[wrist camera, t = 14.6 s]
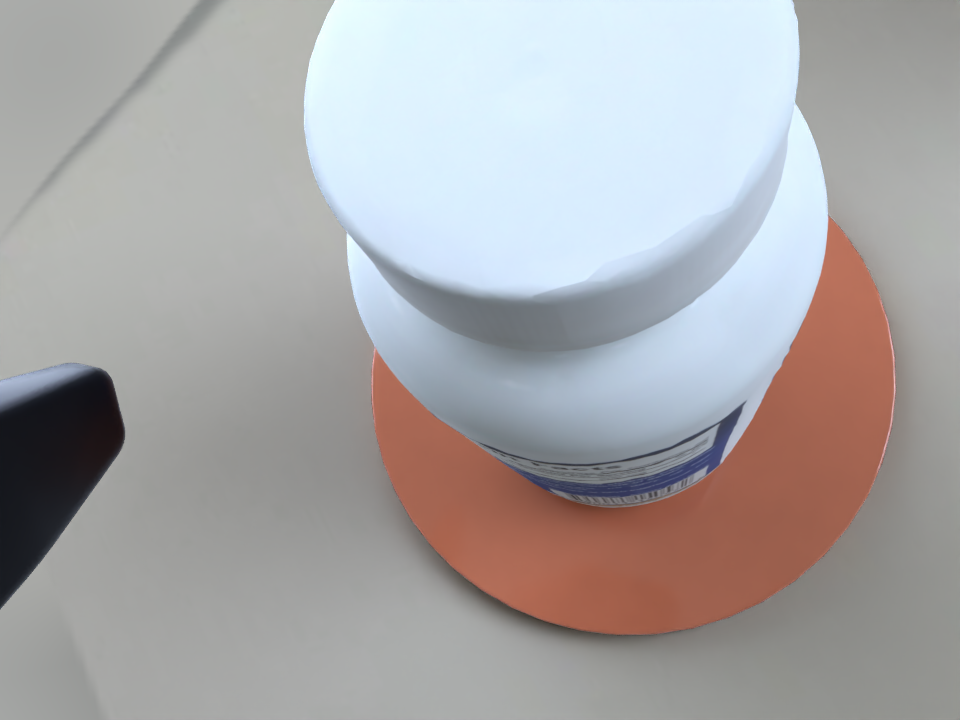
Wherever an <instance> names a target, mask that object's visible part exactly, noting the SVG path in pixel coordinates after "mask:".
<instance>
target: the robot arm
mask: <svg viewBox="0 0 960 720" xmlns="http://www.w3.org/2000/svg"><path fill="white" fill-rule="evenodd" d="M124 440H125V427H124V423H123V419H122V415H121V411H120V407H119V404H118V400H117V396H116V392H115V388H114V385H113V381H112V379H111V377H110V376H109V375H108V373H107V372H106V371H104V370H102V369H100V368H96V367H92V366H88V365H83V364H79V363H66V364H61V365H58V366H54V367H50V368H46V369H42V370H38V371H35V372H31V373H27V374H23V375H19V376H15V377H12V378H8V379H4V380H0V609H1V608H2V607H3V606H4V604H5V603H6V602H7V601H8V600H9V599H10V597H11V596H12V595H13V594H14V593H15V592H16V590H17V589H18V588H19V587H20V586H21V585H22V583H23V582H24V581H25V580H26V579H27V577H29V575H30V574H31V573H32V572H33V570H34V569H35V568H36V567H37V566H38V564H39V563H40V562H41V561H42V559H43V558H44V557H45V555H46V554H47V553H48V551H49V550H50V549H51V547H52V546H53V545H54V543H55V542H56V541H57V539H58V538H59V536H60V535H61V534H62V532H63V531H64V529H65V528H66V527H67V525H68V524H69V523H70V521H71V520H72V518H73V517H74V516H75V514H76V513H77V511H78V510H79V509H80V507H81V506H82V504H83V503H84V502H85V500H86V499H87V497H88V496H89V495H90V493H91V492H92V490H93V489H94V488H95V486H96V485H97V483H98V482H99V481H100V479H101V478H102V476H103V475H104V474H105V472H106V471H107V469H108V468H109V467H110V465H111V464H112V462H113V461H114V460H115V458H116V457H117V455H118V454H119V452H120V451H121V449H122V446H123V444H124Z"/></svg>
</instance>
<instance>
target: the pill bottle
mask: <svg viewBox="0 0 960 720" xmlns="http://www.w3.org/2000/svg"><path fill="white" fill-rule="evenodd" d="M798 74H799V36H798V20H797V17H796V15H795V12H794V4H793V1H792V0H335V2H334V4H333V6H332V8H331V9H330V11H329V13H328V15H327V18H326V20H325V22H324V25H323V27H322V29H321V31H320V34H319V36H318V38H317V41H316V44H315V47H314V50H313V54H312V57H311V60H310V64H309V71H308V75H307V80H306V88H305V97H304V129H305V136H306V143H307V150H308V154H309V158H310V162H311V166H312V170H313V172H314V175H315V178H316V181H317V184H318V186H319V188H320V190H321V192H322V194H323V196H324V198H325V199H326V201H327V203H328V205H329V207H330V208H331V210H332V211H333V213H334V215H335V216H336V218H337V219H338V221H339V222H340V224H341V225H342V227H343V228H344V229H345V230H346V231H347V253H348V267H349V273H350V279H351V284H352V289H353V293H354V297H355V301H356V304H357V308H358V311H359V313H360V316H361V319H362V321H363V324H364V326H365V328H366V330H367V332H368V334H369V336H370V338H371V340H372V342H373V344H374V345H375V347H376V349H377V351H378V353H379V354H380V356H381V357H382V359H383V360H384V361H385V363H386V364H387V366H388V367H389V368H390V370H391V371H392V372H393V374H394V375H395V376H396V377H397V379H398V380H399V381H400V382H401V383H402V384H403V386H404V387H405V388H406V389H407V390H408V391H409V392H410V393H411V394H412V395H413V396H414V397H415V398H416V399H417V400H418V401H419V402H420V403H421V404H422V405H423V406H424V407H425V408H427V409H428V410H429V411H430V412H431V413H432V414H433V415H434V416H435V417H436V418H438V419H439V420H441V421H442V422H444V423H445V424H447V425H448V426H450V427H451V428H453V429H455V430H456V431H458V432H459V433H461V434H462V435H464V436H465V437H467V438H468V439H469V440H471V441H472V442H473V443H475V444H476V445H478V446H479V447H481V448H482V449H484V450H485V451H486V452H488V453H489V454H491V455H492V456H493V457H495V458H496V459H498V460H499V461H501V462H502V463H503V464H505V465H506V466H508V467H509V468H511V469H512V470H514V471H515V472H517V473H519V474H520V475H522V476H523V477H524V478H526V479H528V480H529V481H530V482H532V483H534V484H535V485H537V486H539V487H541V488H543V489H545V490H547V491H548V492H550V493H553V494H555V495H558V496H560V497H562V498H565V499H568V500H571V501H574V502H577V503H581V504H586V505H591V506H598V507H608V508H617V507H632V506H638V505H643V504H648V503H652V502H656V501H659V500H662V499H666V498H668V497H671V496H673V495H675V494H678V493H680V492H682V491H684V490H685V489H687V488H689V487H691V486H693V485H695V484H697V483H698V482H699V481H701V480H702V479H704V478H705V477H706V476H708V475H709V474H710V473H711V472H712V471H713V470H715V469H716V468H717V467H718V466H719V465H720V464H721V463H723V461H724V459H725V458H726V457H727V455H728V454H729V453H730V452H731V450H732V449H733V448H734V446H735V445H736V443H737V442H738V440H739V439H740V438H741V436H742V435H743V433H744V431H745V430H746V428H747V427H748V425H749V424H750V422H751V420H752V419H753V417H754V415H755V413H756V411H757V409H758V407H759V405H760V404H761V402H762V400H763V398H764V396H765V393H766V391H767V389H768V387H769V385H770V384H771V382H772V380H773V378H774V376H775V374H776V372H777V371H778V370H779V369H780V367H781V366H782V364H783V361H784V359H785V357H786V355H787V354H788V352H789V351H790V349H791V346H792V343H793V340H794V339H795V337H796V335H797V334H798V332H799V330H800V328H801V326H802V323H803V321H804V319H805V316H806V314H807V311H808V309H809V306H810V304H811V301H812V299H813V296H814V293H815V290H816V287H817V284H818V281H819V278H820V275H821V270H822V266H823V261H824V256H825V250H826V242H827V230H828V207H827V192H826V186H825V180H824V175H823V171H822V166H821V162H820V157H819V153H818V150H817V148H816V145H815V142H814V140H813V137H812V134H811V132H810V130H809V128H808V125H807V123H806V121H805V119H804V117H803V116H802V114H801V112H800V110H799V108H798V107H797V105H796V104H795V97H796V90H797V84H798Z"/></svg>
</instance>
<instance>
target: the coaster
mask: <svg viewBox="0 0 960 720" xmlns="http://www.w3.org/2000/svg"><path fill="white" fill-rule="evenodd" d="M895 398H896V372H895V354H894V348H893V343H892V337H891V332H890V326H889V322H888V319H887V316H886V313H885V310H884V307H883V304H882V301H881V298H880V295H879V292H878V289H877V287H876V285H875V283H874V281H873V279H872V277H871V275H870V273H869V271H868V269H867V267H866V265H865V263H864V261H863V259H862V258H861V256H860V255H859V253H858V252H857V251H856V249H855V248H854V246H853V245H852V243H851V242H850V240H849V239H848V238H847V236H846V235H845V233H844V232H843V231H842V229H841V228H840V227H839V226H838V225H837V224H836V223H835V222H834V221H833V220H832V219H831V217H830V216H829V215H828V230H827V242H826V250H825V256H824V261H823V266H822V270H821V275H820V278H819V281H818V284H817V287H816V290H815V293H814V296H813V299H812V301H811V304H810V306H809V309H808V311H807V314H806V316H805V319H804V321H803V323H802V326H801V328H800V330H799V332H798V334H797V335H796V337H795V339H794V340H793V343H792V346H791V349H790V351H789V352H788V354H787V355H786V357H785V359H784V361H783V364H782V366H781V367H780V369H779V370H778V371H777V372H776V374H775V376H774V378H773V380H772V382H771V384H770V385H769V387H768V389H767V391H766V393H765V396H764V398H763V400H762V402H761V404H760V405H759V407H758V409H757V411H756V413H755V415H754V417H753V419H752V420H751V422H750V424H749V425H748V427H747V428H746V430H745V431H744V433H743V435H742V436H741V438H740V439H739V440H738V442H737V443H736V445H735V446H734V448H733V449H732V450H731V452H730V453H729V454H728V455H727V457H726V458H725V459H724V461H723V463H721V464H720V465H719V466H718V467H717V468H716V469H715V470H713V471H712V472H711V473H710V474H709V475H708V476H706V477H705V478H704V479H702V480H701V481H699V482H698V483H697V484H695V485H693V486H691V487H689V488H687V489H685V490H684V491H682V492H680V493H678V494H675V495H673V496H671V497H668V498H666V499H662V500H659V501H656V502H652V503H648V504H643V505H638V506H632V507H617V508H608V507H598V506H591V505H586V504H581V503H577V502H574V501H571V500H568V499H565V498H562V497H560V496H558V495H555V494H553V493H550V492H548V491H547V490H545V489H543V488H541V487H539V486H537V485H535V484H534V483H532V482H530V481H529V480H528V479H526V478H524V477H523V476H522V475H520V474H519V473H517V472H515V471H514V470H512V469H511V468H509V467H508V466H506V465H505V464H503V463H502V462H501V461H499V460H498V459H496V458H495V457H493V456H492V455H491V454H489V453H488V452H486V451H485V450H484V449H482V448H481V447H479V446H478V445H476V444H475V443H473V442H472V441H471V440H469V439H468V438H467V437H465V436H464V435H462V434H461V433H459V432H458V431H456V430H455V429H453V428H451V427H450V426H448V425H447V424H445V423H444V422H442V421H441V420H439V419H438V418H436V417H435V416H434V415H433V414H432V413H431V412H430V411H429V410H428V409H427V408H425V407H424V406H423V405H422V404H421V403H420V402H419V401H418V400H417V399H416V398H415V397H414V396H413V395H412V394H411V393H410V392H409V391H408V390H407V389H406V388H405V387H404V386H403V384H402V383H401V382H400V381H399V380H398V379H397V377H396V376H395V375H394V374H393V372H392V371H391V370H390V368H389V367H388V366H387V364H386V363H385V361H384V360H383V359H382V357H381V356H380V354H379V353H378V351H377V349H376V347H375V349H374V356H373V364H372V394H371V401H372V409H373V417H374V426H375V432H376V436H377V440H378V444H379V448H380V452H381V456H382V460H383V463H384V465H385V468H386V470H387V473H388V475H389V478H390V480H391V483H392V485H393V488H394V490H395V492H396V494H397V496H398V498H399V499H400V501H401V503H402V505H403V506H404V508H405V510H406V512H407V513H408V515H409V517H410V519H411V520H412V522H413V523H414V524H415V526H416V527H417V528H418V530H419V531H420V532H421V533H422V535H423V536H424V537H425V539H426V540H427V541H428V543H429V544H430V545H431V546H432V547H433V548H434V550H435V551H436V552H437V553H438V554H439V555H440V556H441V557H442V558H443V559H444V560H445V561H446V562H447V563H448V564H449V565H450V566H451V567H452V568H453V569H454V570H456V571H457V572H458V573H459V574H461V575H462V576H463V577H465V578H466V579H467V580H469V581H470V582H471V583H472V584H474V585H475V586H476V587H478V588H479V589H480V590H482V591H483V592H485V593H487V594H488V595H490V596H492V597H494V598H495V599H497V600H499V601H501V602H502V603H504V604H506V605H508V606H509V607H511V608H513V609H515V610H518V611H520V612H523V613H525V614H528V615H530V616H533V617H535V618H538V619H540V620H542V621H545V622H548V623H552V624H556V625H560V626H564V627H568V628H572V629H576V630H579V631H586V632H595V633H603V634H612V635H655V634H661V633H668V632H674V631H681V630H687V629H693V628H696V627H700V626H703V625H706V624H709V623H713V622H716V621H719V620H723V619H726V618H729V617H731V616H733V615H736V614H738V613H740V612H742V611H744V610H746V609H749V608H751V607H753V606H755V605H757V604H759V603H762V602H764V601H765V600H767V599H768V598H770V597H771V596H773V595H774V594H776V593H777V592H779V591H781V590H782V589H784V588H785V587H787V586H788V585H790V584H791V583H793V582H794V581H796V580H797V579H798V578H799V577H800V576H802V575H803V574H804V573H805V572H806V571H807V570H808V569H810V568H811V567H812V566H813V565H814V564H815V563H816V562H818V561H819V560H820V559H821V558H822V557H823V556H824V555H825V554H826V553H827V552H828V551H829V549H830V548H831V547H832V546H833V545H834V544H835V542H836V541H837V540H838V539H839V538H840V536H841V535H842V534H843V533H844V532H845V531H846V529H847V528H848V527H849V525H850V524H851V522H852V521H853V519H854V517H855V516H856V514H857V513H858V511H859V509H860V508H861V506H862V505H863V503H864V501H865V500H866V498H867V497H868V495H869V492H870V490H871V488H872V486H873V483H874V481H875V479H876V476H877V474H878V472H879V470H880V467H881V465H882V463H883V459H884V455H885V452H886V448H887V444H888V441H889V437H890V433H891V430H892V424H893V415H894V406H895Z"/></svg>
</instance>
